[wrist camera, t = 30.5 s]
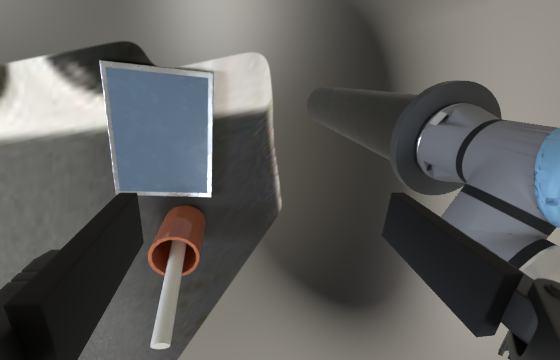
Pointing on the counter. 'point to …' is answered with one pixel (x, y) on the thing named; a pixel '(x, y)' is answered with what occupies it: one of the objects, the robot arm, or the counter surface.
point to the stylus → (169, 297)
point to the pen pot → (179, 238)
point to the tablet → (159, 129)
